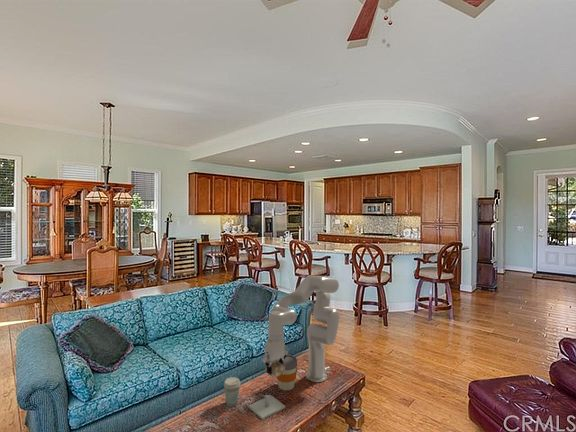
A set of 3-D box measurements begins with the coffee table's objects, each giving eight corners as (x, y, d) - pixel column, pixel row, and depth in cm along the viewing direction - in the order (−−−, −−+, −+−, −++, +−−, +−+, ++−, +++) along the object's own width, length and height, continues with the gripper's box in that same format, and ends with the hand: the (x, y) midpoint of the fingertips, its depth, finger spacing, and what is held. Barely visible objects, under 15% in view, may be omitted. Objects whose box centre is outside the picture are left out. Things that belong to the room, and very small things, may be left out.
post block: (271, 396, 172) (271, 385, 172) (285, 407, 163) (285, 396, 163) (248, 407, 163) (248, 395, 163) (262, 419, 154) (262, 407, 154)
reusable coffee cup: (298, 380, 188) (298, 355, 188) (296, 392, 176) (296, 365, 175) (276, 379, 190) (276, 354, 189) (273, 391, 177) (273, 364, 177)
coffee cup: (224, 410, 161) (224, 386, 161) (223, 400, 169) (223, 377, 169) (241, 407, 163) (241, 384, 163) (239, 397, 172) (239, 375, 171)
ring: (276, 367, 168) (276, 360, 168) (284, 373, 163) (285, 365, 163) (265, 372, 164) (265, 364, 164) (274, 377, 158) (274, 369, 158)
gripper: (284, 330, 171) (283, 363, 172) (257, 338, 160) (256, 373, 160) (293, 334, 166) (292, 368, 166) (266, 343, 154) (265, 380, 155)
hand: (275, 370), depth 163 cm, fingers closed on ring, 7 cm apart
